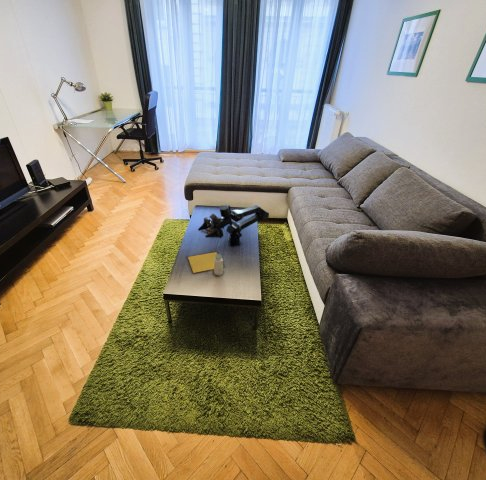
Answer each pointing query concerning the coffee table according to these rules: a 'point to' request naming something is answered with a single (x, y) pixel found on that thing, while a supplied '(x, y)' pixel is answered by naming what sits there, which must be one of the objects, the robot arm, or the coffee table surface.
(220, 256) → the bottle
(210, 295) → the coffee table surface
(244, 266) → the coffee table surface
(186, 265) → the coffee table surface
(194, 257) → the cloth
